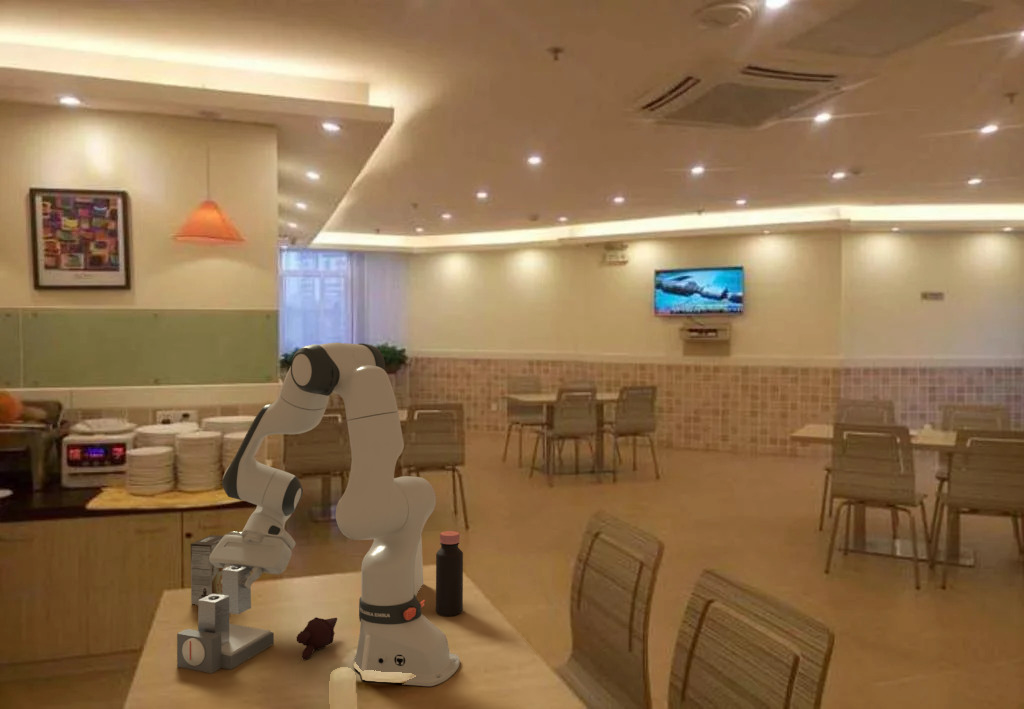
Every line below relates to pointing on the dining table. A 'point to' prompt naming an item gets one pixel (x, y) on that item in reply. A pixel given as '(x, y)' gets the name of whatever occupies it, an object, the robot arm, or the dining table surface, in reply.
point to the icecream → (316, 635)
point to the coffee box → (204, 569)
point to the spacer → (236, 588)
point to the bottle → (449, 575)
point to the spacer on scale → (214, 615)
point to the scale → (220, 647)
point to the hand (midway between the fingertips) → (234, 585)
